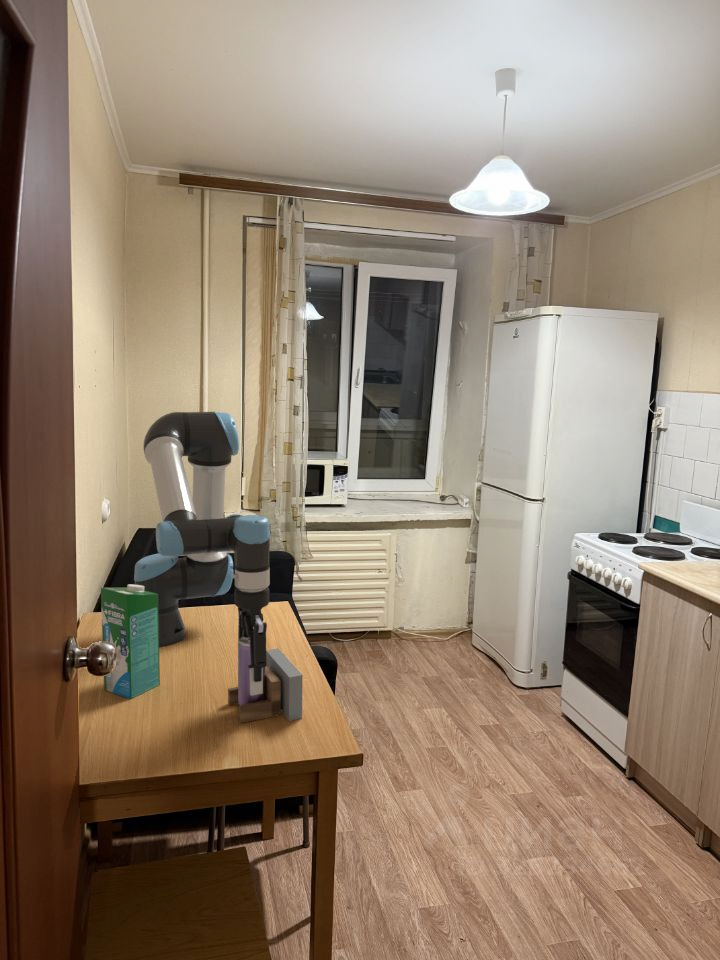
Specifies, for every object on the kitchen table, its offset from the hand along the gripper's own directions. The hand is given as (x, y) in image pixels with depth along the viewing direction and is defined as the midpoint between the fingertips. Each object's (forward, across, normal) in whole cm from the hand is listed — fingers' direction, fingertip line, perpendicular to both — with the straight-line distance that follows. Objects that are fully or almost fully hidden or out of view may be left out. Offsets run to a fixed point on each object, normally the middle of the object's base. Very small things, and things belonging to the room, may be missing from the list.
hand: (251, 687), depth 152 cm
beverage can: (+4, 0, 0) cm, 4 cm away
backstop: (+5, 0, +7) cm, 9 cm away
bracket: (+5, 0, +1) cm, 5 cm away
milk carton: (+6, -22, -23) cm, 32 cm away
